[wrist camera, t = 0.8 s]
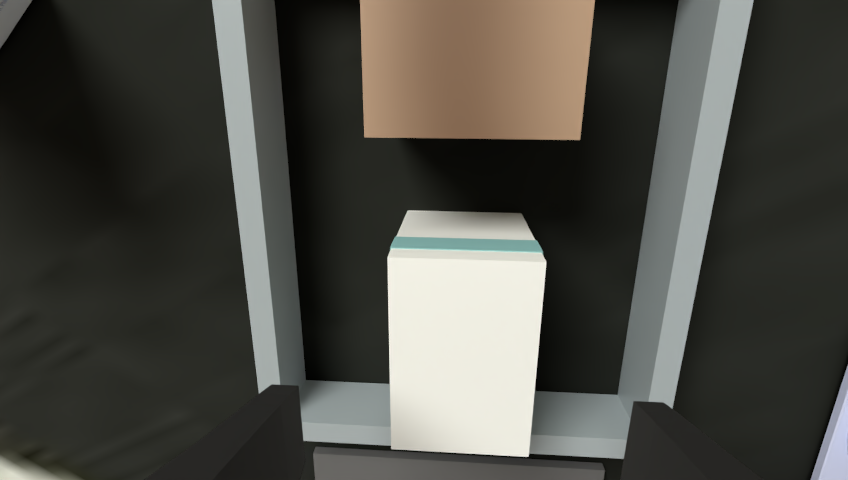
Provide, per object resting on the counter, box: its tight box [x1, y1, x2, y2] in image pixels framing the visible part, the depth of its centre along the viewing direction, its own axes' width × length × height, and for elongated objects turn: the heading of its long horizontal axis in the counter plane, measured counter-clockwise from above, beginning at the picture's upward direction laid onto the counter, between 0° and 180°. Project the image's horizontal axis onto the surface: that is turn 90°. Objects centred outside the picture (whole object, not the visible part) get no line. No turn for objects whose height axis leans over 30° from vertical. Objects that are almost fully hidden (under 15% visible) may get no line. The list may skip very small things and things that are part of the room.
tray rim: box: [212, 0, 754, 459], centre depth 15 cm, size 14×17×2 cm
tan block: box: [360, 0, 595, 140], centre depth 13 cm, size 5×4×5 cm
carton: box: [388, 210, 546, 457], centre depth 15 cm, size 4×6×5 cm
